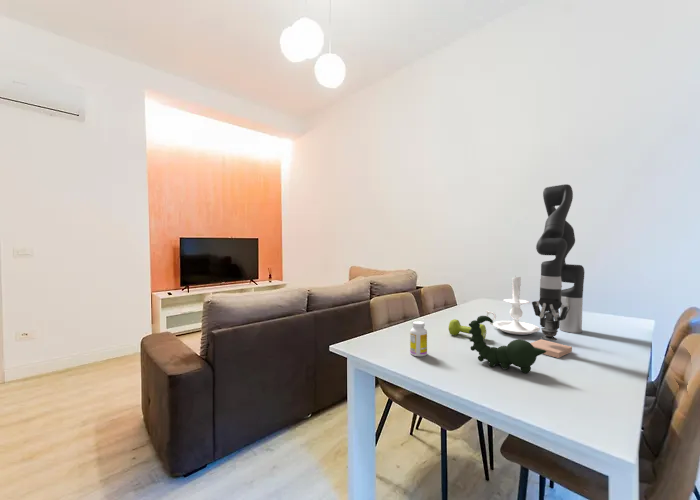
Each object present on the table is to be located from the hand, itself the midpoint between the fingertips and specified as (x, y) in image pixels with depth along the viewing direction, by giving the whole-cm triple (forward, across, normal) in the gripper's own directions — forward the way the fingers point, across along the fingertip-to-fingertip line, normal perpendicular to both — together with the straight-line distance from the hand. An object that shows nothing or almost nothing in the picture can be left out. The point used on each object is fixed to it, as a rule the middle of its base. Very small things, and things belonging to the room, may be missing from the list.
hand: (549, 328), depth 133 cm
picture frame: (+8, 0, +6) cm, 10 cm away
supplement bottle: (+10, -28, -47) cm, 56 cm away
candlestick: (+10, -24, +14) cm, 29 cm away
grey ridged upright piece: (+4, 0, 0) cm, 4 cm away
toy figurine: (+10, -1, -31) cm, 33 cm away
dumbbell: (+10, -31, -12) cm, 34 cm away
